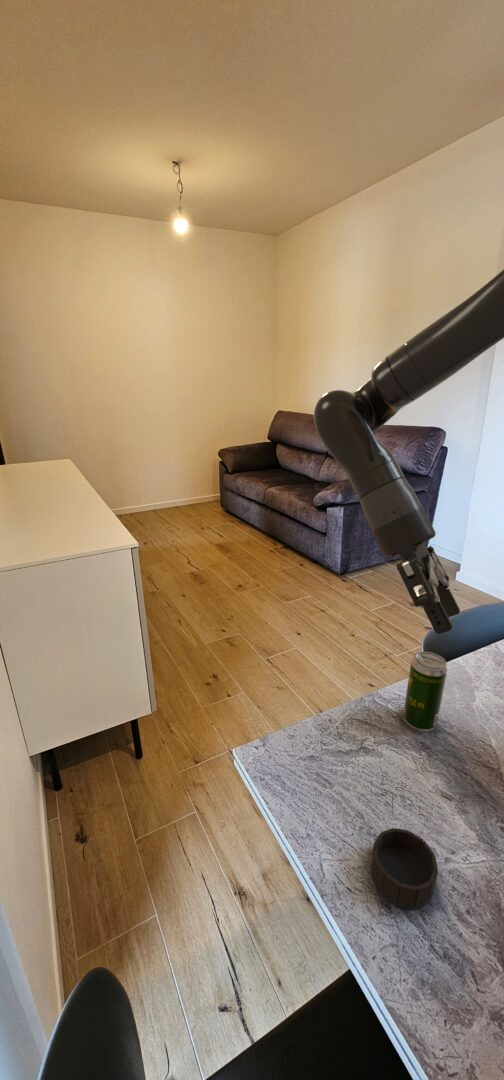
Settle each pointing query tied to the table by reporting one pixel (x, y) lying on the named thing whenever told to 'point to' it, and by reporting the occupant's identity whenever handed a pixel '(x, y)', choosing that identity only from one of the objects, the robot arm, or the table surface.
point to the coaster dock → (403, 868)
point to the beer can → (424, 691)
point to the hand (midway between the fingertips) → (449, 622)
